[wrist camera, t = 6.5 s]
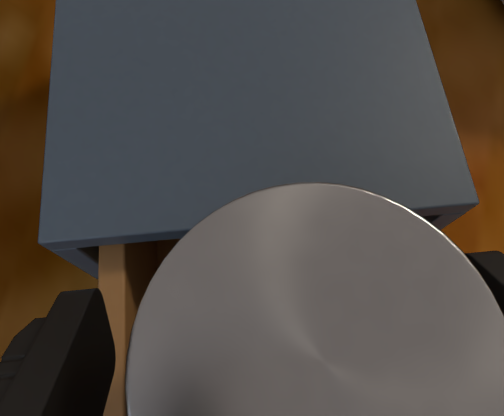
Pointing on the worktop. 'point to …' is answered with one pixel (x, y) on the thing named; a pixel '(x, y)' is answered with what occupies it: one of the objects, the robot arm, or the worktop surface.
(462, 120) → the worktop surface
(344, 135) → the cabinet
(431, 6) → the worktop surface
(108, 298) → the drawer
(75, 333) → the robot arm
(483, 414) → the brushed steel cylinder
